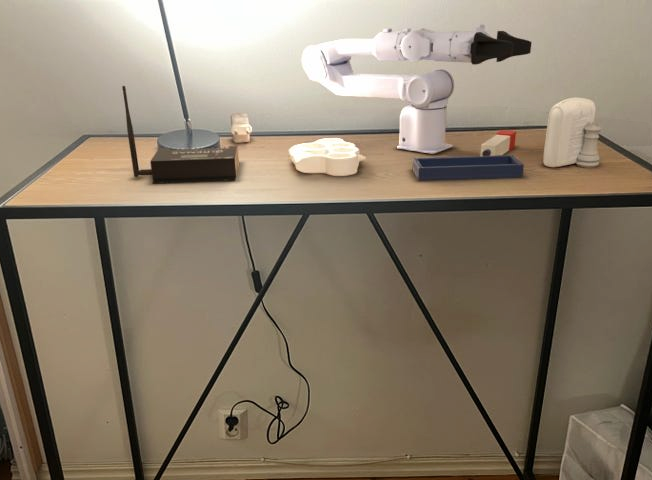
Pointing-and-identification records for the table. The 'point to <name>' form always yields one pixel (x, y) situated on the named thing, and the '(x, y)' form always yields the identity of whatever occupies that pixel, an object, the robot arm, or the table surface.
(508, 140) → the marker
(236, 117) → the power adapter
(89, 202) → the table surface
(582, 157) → the rook chess piece
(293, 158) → the white lobed tray
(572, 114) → the photo printer
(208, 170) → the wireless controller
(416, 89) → the robot arm
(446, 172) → the tray
